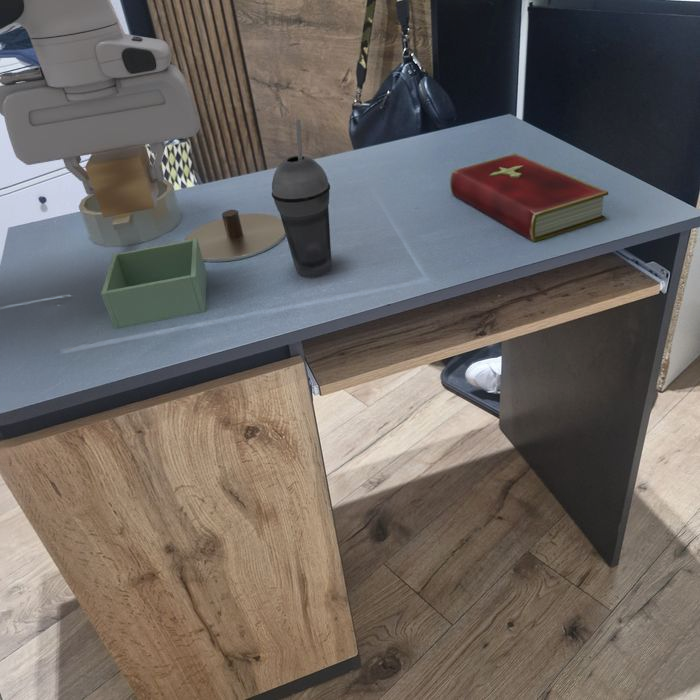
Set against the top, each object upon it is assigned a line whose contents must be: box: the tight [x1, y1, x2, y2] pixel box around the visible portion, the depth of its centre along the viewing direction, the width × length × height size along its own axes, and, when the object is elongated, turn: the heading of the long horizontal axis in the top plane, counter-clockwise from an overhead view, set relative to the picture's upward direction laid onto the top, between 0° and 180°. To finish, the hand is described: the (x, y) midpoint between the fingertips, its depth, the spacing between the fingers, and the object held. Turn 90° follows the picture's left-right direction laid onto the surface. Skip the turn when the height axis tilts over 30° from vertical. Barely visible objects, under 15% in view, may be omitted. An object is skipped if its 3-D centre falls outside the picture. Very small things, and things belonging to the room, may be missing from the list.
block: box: [84, 145, 159, 217], centre depth 75 cm, size 6×6×6 cm
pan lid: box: [184, 209, 286, 263], centre depth 95 cm, size 16×16×5 cm
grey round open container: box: [78, 178, 182, 248], centre depth 103 cm, size 15×20×6 cm
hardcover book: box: [449, 152, 609, 243], centre depth 93 cm, size 12×21×4 cm, turn 23°
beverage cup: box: [271, 119, 332, 279], centre depth 79 cm, size 7×7×20 cm
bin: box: [100, 239, 207, 330], centre depth 82 cm, size 11×11×6 cm
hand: (126, 186), depth 75 cm, fingers closed on block, 6 cm apart
